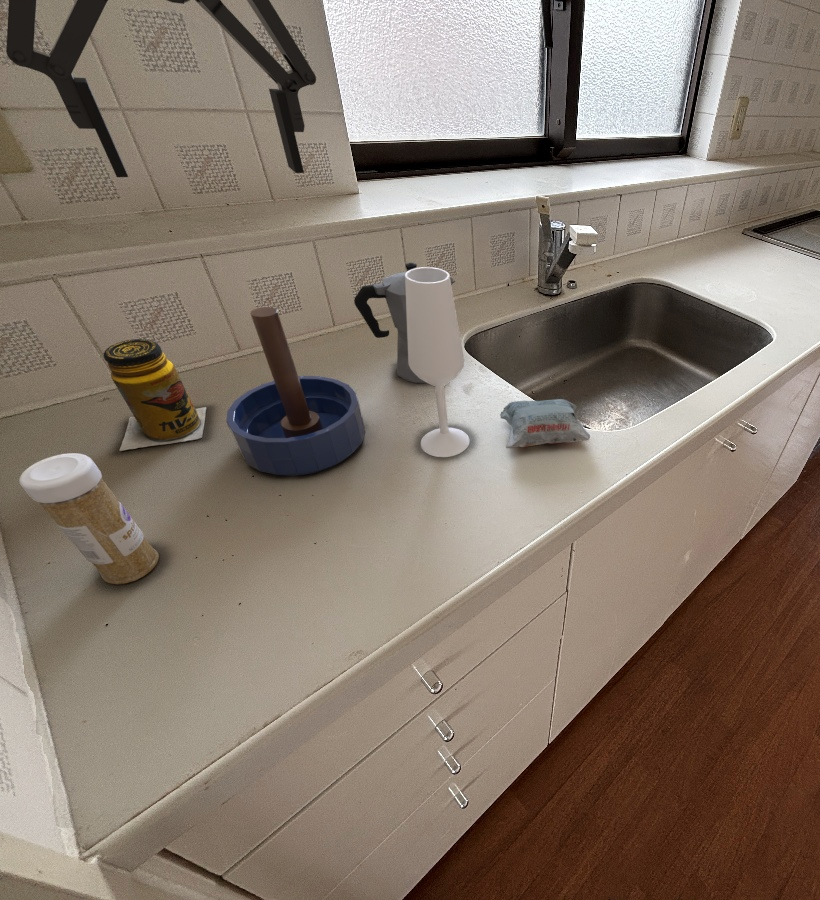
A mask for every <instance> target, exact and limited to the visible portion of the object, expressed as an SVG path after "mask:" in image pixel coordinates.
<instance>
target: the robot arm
mask: <svg viewBox="0 0 820 900" xmlns="http://www.w3.org/2000/svg"><path fill="white" fill-rule="evenodd" d="M37 1H38V0H8V8H7V9H8V11H7V29H6V31H7V32H6V47H5V51H6V55H7V58H8V59H9V60H10V61H11V62H12V63H13V64H15V65H16V66H19V67H22V68H28V69H30V70H32V71H33V70H34V71H36V72H39V73H42V74H43V75H45V76H47V77H48V78H49V79H50V80H51V81H52V82H53V84H54V85H55V87H56V91H58V93H59V96H60V98H61V100H62V103H63V104H64V106H65V109H66V111H67V113H68V116H69V117H70V119H71V121H72V122H73V123H74V125H75V126H76V127H77V128H78V129H79V130H80V129H81V130H82V129H83V130H95V133H96V134H97V137H98V140H99V141H100V143H101V145H102V148H103V150H104V152H105V154H106V157H107V159H108V161H109V164H110V166H111V169H112V170H113V172H114V174H115V176H116V178H129V174H128V172H127V170H126V167H125V165H124V162H123V160H122V158H121V155H120V154H119V151H118V148H117V146H116V144H115V142H114V140H113V137H112V135H111V133H110V130H109V127H108V126H107V123H106V121H105V119H104V117H103V115H102V112H101V110H100V107H99V105H98V103H97V101H96V98H95V96H94V94H93V92H92V89H91V87H90V85H89V83H88V80H87V78H86V77H77V76H76V77H74V76H73V72H74V70H75V67H76V66H77V63H78V62H79V59H80V57H81V55H82V53H83V51H84V49H85V47H86V46H87V43H88V41H89V39H90V38H91V35H92V33H93V31H94V29H95V28H96V26H97V23H98V21H99V19H100V18H101V15H102V13H103V11H104V9H105V7H106V5H107V3H108V1H109V0H74V3H73V5H72V7H71V9H70V11H69V14H68V16H67V18H66V20H65V22H64V23H63V26H62V28H61V29H60V31H59V34H58V36H57V38H56V40H55V42H54V44H53V46H52V49H51V51H50V52H49V54H48V53H45V52H44V51H43V52H42V51H39V50H37V49H34V48H35V47H34V46H35V45H34V44H35V33H36V31H35V30H36V16H37V3H38V2H37ZM166 1H167V2H170V3H172V4H173V3H174V4H181V5H184V4H185V3H186V4H187V3H188V2H190V1H191V0H166ZM194 1H195V2H196V3H197V4H198V5H199V7H201V8H202V9H203V10H204V11H205V12H206V13H207V14H208V15H209V16H210V17H211V18H212V19H213V20H214V21H215V22H216V23H217V24H218V25H219V26H220V27H221V28H222V29H223V30H224V31H225V33H226V34H228V35H229V37H231V39H233V41H234V42H235V43H236V44H237V45H238V46H239V47H240V48H241V49H242V50H243V51H244V52H245V53H246V54H247V55H248V56H249V58H251V59H252V61H254V62H255V63H256V64H257V65H258V66H259V67H260V68H261V70H263V71H264V73H265V74H266V75H267V76H268V77H269V78H270V79H271V80H272V81H273V82H274V83H275V84H276V85H277V88H268V92H269V95H270V98H271V99H270V100H271V102H272V107H273V111H274V115H275V119H276V123H277V127H278V131H279V136H280V139H281V143H282V147H283V151H284V155H285V159H286V164H287V167H288V168H289V169H290V170H291V171H292V172H294V173H295V174H305V172H304V167H303V162H302V159H301V155H300V149H299V146H298V141H297V137H296V133H304V132H305V121H304V116H303V113H302V108H301V104H300V98H299V91H300V90H301V89H302V88H305V87H308V86H313V85H315V84H316V82H317V76H316V74H315V72H314V71H313V69H312V67H311V66H310V64H309V62H308V61H307V59H306V58H305V56H304V54H303V53H302V51H301V49H300V47H299V46H298V44H297V43H296V41H295V40H294V38H293V37H292V35H291V34H290V31H289V30H288V29H287V27H286V25H285V23H284V22H283V20H282V19H281V17H280V15H279V14H278V12H277V11H276V8H275V7H274V5H273V4H272V2H271V1H270V0H246V2H247V3H248V4H249V6H250V7H251V9H252V11H253V12H254V14H255V16H256V17H257V18H258V20H259V21H260V23H261V25H262V26H263V28H264V30H265V31H266V33H267V34H268V35H269V37H270V39H271V40H272V42H273V43H274V45H275V46H276V49H278V51H279V53H280V54H281V56H282V58H283V59H284V60H285V62H286V63H287V65H288V67H289V68H290V69H289V70H285V68H284V67H283V66H282V65H281V64H280V63H279V62H278V60H276V59H275V58H274V57H273V55H272V54H271V53H270V52H269V51H268V50H267V49H266V48H265V47H264V45H262V44H261V43H260V42H259V40H257V38H256V37H255V36H254V35H253V34H252V33H251V31H249V30H248V29H247V28H246V27H245V25H244V24H242V22H241V21H240V20H239V18H237V16H235V14H233V12H232V11H231V10H230V9H229V8H228V7H227V6H226V5H225V4H224V2H223V1H222V0H194Z"/></svg>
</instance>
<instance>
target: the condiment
mask: <svg viewBox="0 0 820 900" xmlns="http://www.w3.org/2000/svg"><path fill="white" fill-rule="evenodd" d="M103 359H104V360H105V362H107V365H108V368H109V370H110V371H111V372H110V378H111V380H112V382H113V384H114V385H115V387H116V389H117V390H118V392H119V393H120V395H121V397H122V399H123V400H124V402H125V403H126V405H127V407H128V409H129V410H130V412H131V413H132V415H133V416H129V418H128V423H127V426H126V430H125V433H124V438H123V439H122V442H121V445H120V447H119V450H118V451H119V452H122V451H128V450H135V449H138V448H147V447H154V446H163V445H170V444H175V443H182V442H188V441H194V440H199V439H202V438H203V433H204V428H205V421H206V412H207V406H204V407H199V408H196V407H195V406H194V403H193V401H192V400H191V397H190V395H189V393H188V392H187V389H186V387H185V385H184V383H183V381H182V379H181V378H180V375H179V373H178V371H177V369H176V367H175V365H174V363H173V362H172V361H170V360H169V359H168V358H167V356H166V354H165V353H164V352H163V350H162V347H161V346H160V345H159V344H158V343H157V342H156V341H154V340H151V339H145V338H144V339H143V338H135V339H134V338H133V339H127V340H122V341H119V342H116V343H114V344H112V345H110V346H109V347H107V348H105V350H104V352H103Z"/></svg>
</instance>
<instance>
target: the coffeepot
mask: <svg viewBox="0 0 820 900" xmlns="http://www.w3.org/2000/svg"><path fill="white" fill-rule="evenodd" d="M405 268H406V271H403V272H402V271H401V272H398V273H395V274H392V275H389V276H386V277H383V278H382V282H379V283H372V284H369V285H363V286H361V288H360V289H359V290H358V292H357V293H356V295H355V297H354V300H353V301H354V306H355V307H356V309H357V310H358V312H359V313H360V315H361V317H362V318H363V320H364V321H365V324H367V326H368V328H369V329H370V331H371V332H372V334H373V336H374V337H375V338H376V339H381V338H386V337H387V338H388V337H389V336H390V330H389V329H387V330H381V328H380V324H379V321H378V319H376V318H375V316H374V313H373V311H372V308H371V306H370V305H369V304H368V301H369V300H370V299H385V301H386V304H387V307H388V311H389V313H390V317H391V320H392V323H393V326H394V328H395V329H397V343H396V344H397V348H396V350H397V354H396V356H397V357H396V375H397V376H398V377H400V378H401V379H403V380H405V381H407V382H409V383H415V384H428V383H427V382H425V381H423V380H421V379H420V378H419V377H418V376H416V375H415V374H414V372H413V371H412V370H411V369H410V366H409V364H408V339H407V313H406V286H405V273H406V272H407V271H409V270H411V269H415V268H418V265H417V263H415V262H407V263H405ZM450 281H451V286H452V285H453V284H455V283H456V280H454V279H453V278H452V277H450Z"/></svg>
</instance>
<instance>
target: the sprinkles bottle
mask: <svg viewBox="0 0 820 900" xmlns="http://www.w3.org/2000/svg"><path fill="white" fill-rule="evenodd" d="M18 480H19V481H18V482H19V485H20V486H21V488H22V489H23V490H24V491H25V493H26V494H27V495H28V496H29V498H30V499H31V500H33V501H35V502H37V503H38V504H39V505H41V507H42V508H43V509H44V510H45V511H46V512H47V514H48V515H49V516H50V517H51V518H52V520H53V521H54V523H55V525H56V526H57V527H58V529H60V531H62V533H63V534H64V535H65V536H66V537H67V539H69V541H70V542H71V543H72V544H73V545H74V546H75V548H76V549H77V550H78V551H79V552H80V553H81V554H82V556H83V557H84V558H85V559H86V560H87V561H88V562H89V563H91V564H92V565H93V566H94V567H95V568H96V570H97V571H98V572H99V574H100V576H101V578H102V580H103V581H104V582H106V583H108V584H112V585H124V584H128V583H132V582H135V581H138V580H139V579H141V578H143V577H145V576H146V575H147V574H149V573H150V572H151V571H153V569H154V568H156V566H157V564H158V561H159V558H160V556H159V555H160V554H159V552H158V551H157V550H156V548H153V546H152V545H151V543H149V541H148V539H147V538H146V537H145V535H144V533H143V531H142V530H141V529H140V527H139V526H138V524H137V523H136V522H135V520H134V519H133V518H132V516H131V515H130V514H129V512H128V511H127V509H126V508H125V507H124V506H123V504H122V503H121V501H119V500H118V498H117V497H116V496H115V494H114V493H113V491H112V490H111V489H110V488H109V486H108V485H107V483H106V482H105V480H103V475H102V472H101V470H100V468H99V467H98V466H97V465H96V463H95V462H94V460H93V459H92V458H91V457H90V456H88V455H86V454H83V453H77V452H76V453H75V452H74V453H72V452H70V453H61V454H56V455H53V456H50V457H47V458H44V459H42V460H39V461H37V462H34V463H33V464H32V465H30V466H29V467H28V468H26V469H25V470H24V471H23V472H22V473H21V475H20V476H19V479H18Z"/></svg>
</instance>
